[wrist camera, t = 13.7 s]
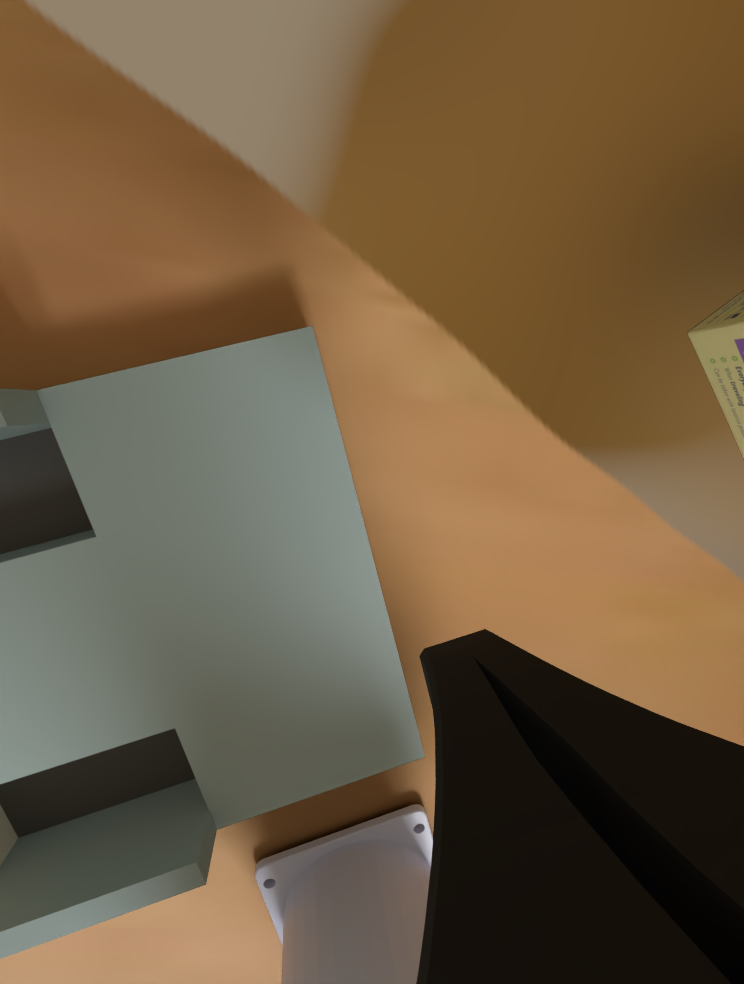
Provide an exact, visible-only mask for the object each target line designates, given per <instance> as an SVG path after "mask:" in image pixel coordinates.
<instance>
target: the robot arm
mask: <svg viewBox="0 0 744 984" xmlns="http://www.w3.org/2000/svg"><path fill="white" fill-rule="evenodd" d="M420 660H421V664H422V668H423V672H424V676H425V680H426V684H427V688H428V692H429V696H430V700H431V704H432V708H433V715H434V726H435V759H436V790H435V815H434V832H433V837H432V833H431V829H430V825H429V822H428V818H427V815H426V811H425V809H424V807H423V806H421V805H418V804H414V805H411V806H408V807H405V808H402V809H400V810H397V811H394V812H391V813H388V814H386V815H383V816H380V817H377V818H375V819H372V820H369V821H366V822H363V823H361V824H358V825H355V826H352V827H350V828H347V829H344V830H341V831H339V832H336V833H333V834H330V835H327V836H325V837H322V838H319V839H316V840H314V841H311V842H308V843H305V844H302V845H300V846H297V847H294V848H291V849H289V850H286V851H283V852H280V853H277V854H275V855H272V856H269V857H266V858H264V859H262V860H260V861H259V862H258V863H257V865H256V867H255V879H256V881H257V884H258V886H259V889H260V891H261V894H262V896H263V899H264V901H265V904H266V906H267V909H268V912H269V914H270V917H271V919H272V922H273V924H274V927H275V929H276V932H277V934H278V937H279V939H280V942H281V944H282V947H283V950H282V982H281V984H744V746H741V745H738V744H736V743H733V742H730V741H727V740H725V739H722V738H719V737H716V736H714V735H711V734H708V733H706V732H703V731H700V730H697V729H695V728H692V727H689V726H686V725H684V724H681V723H679V722H676V721H674V720H671V719H669V718H666V717H664V716H661V715H659V714H656V713H654V712H651V711H649V710H647V709H645V708H642V707H640V706H638V705H635V704H633V703H631V702H629V701H626V700H624V699H622V698H619V697H617V696H615V695H613V694H610V693H608V692H606V691H604V690H602V689H600V688H598V687H595V686H593V685H591V684H589V683H587V682H585V681H583V680H581V679H579V678H577V677H575V676H573V675H571V674H569V673H567V672H565V671H563V670H561V669H559V668H557V667H555V666H553V665H551V664H549V663H547V662H545V661H543V660H541V659H540V658H538V657H536V656H534V655H532V654H530V653H528V652H527V651H525V650H523V649H521V648H519V647H517V646H515V645H514V644H512V643H510V642H508V641H506V640H505V639H503V638H501V637H499V636H497V635H495V634H494V633H492V632H490V631H488V630H486V629H484V630H481V631H478V632H475V633H472V634H469V635H465V636H462V637H459V638H456V639H453V640H450V641H447V642H444V643H441V644H437V645H434V646H431V647H428V648H425V649H424V650H423V651H422V653H421V655H420ZM417 824H419V825H417Z"/></svg>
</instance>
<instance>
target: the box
mask: <svg viewBox="0 0 744 984" xmlns="http://www.w3.org/2000/svg"><path fill="white" fill-rule="evenodd" d="M687 333H688V336H689V339H690V341H691V343H692V345H693V347H694V350H695V352H696V353H697V356H698V358H699V359H700V362H701V364H702V366H703V368H704V371H705V373H706V375H707V378H708V380H709V382H710V384H711V387H712V389H713V391H714V393H715V395H716V398H717V400H718V402H719V404H720V407H721V409H722V411H723V413H724V415H725V418H726V420H727V422H728V425H729V427H730V429H731V431H732V434H733V436H734V438H735V441H736V443H737V445H738V447H739V450H740V452H741V454H742V457H743V459H744V290H743V291H742V292H741V293H739V294H738V295H737V296H735V297H734V298H733V299H731V300H730V301H728V302H727V303H726V304H724V305H723V306H722V307H720V308H719V309H718V310H716V311H715V312H713V313H712V314H711V315H710V316H708V317H707V318H706V319H704V320H703V321H701V322H700V323H699V324H697V325H696V326H695V327H693V328H692V329H691V330H689V331H688V332H687Z"/></svg>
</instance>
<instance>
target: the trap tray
mask: <svg viewBox="0 0 744 984" xmlns="http://www.w3.org/2000/svg"><path fill="white" fill-rule="evenodd" d="M424 757H425V755H424V751H423V747H422V743H421V739H420V736H419V732H418V728H417V724H416V720H415V716H414V713H413V709H412V705H411V701H410V697H409V693H408V690H407V686H406V682H405V678H404V674H403V670H402V667H401V663H400V659H399V655H398V651H397V648H396V644H395V640H394V636H393V632H392V628H391V625H390V621H389V617H388V613H387V609H386V605H385V602H384V598H383V594H382V590H381V586H380V582H379V579H378V575H377V571H376V567H375V563H374V559H373V556H372V552H371V548H370V544H369V540H368V536H367V533H366V529H365V525H364V521H363V517H362V514H361V510H360V506H359V502H358V498H357V494H356V491H355V487H354V483H353V479H352V475H351V471H350V468H349V464H348V460H347V456H346V452H345V448H344V445H343V441H342V437H341V433H340V429H339V425H338V422H337V418H336V414H335V410H334V406H333V402H332V399H331V395H330V391H329V387H328V383H327V379H326V376H325V372H324V368H323V364H322V360H321V357H320V353H319V349H318V345H317V341H316V337H315V334H314V330H313V326H310V327H305V328H301V329H297V330H292V331H288V332H284V333H280V334H275V335H271V336H267V337H262V338H258V339H254V340H250V341H245V342H241V343H237V344H233V345H228V346H224V347H220V348H215V349H211V350H207V351H203V352H198V353H194V354H190V355H185V356H181V357H177V358H173V359H168V360H164V361H160V362H155V363H151V364H147V365H143V366H138V367H134V368H130V369H125V370H121V371H117V372H113V373H108V374H104V375H100V376H95V377H91V378H87V379H83V380H78V381H74V382H70V383H65V384H61V385H57V386H53V387H48V388H44V389H40V390H22V389H6V388H0V959H1V958H4V957H7V956H10V955H12V954H15V953H18V952H21V951H23V950H26V949H29V948H32V947H34V946H37V945H40V944H43V943H45V942H48V941H51V940H54V939H57V938H59V937H62V936H65V935H68V934H70V933H73V932H76V931H79V930H81V929H84V928H87V927H90V926H92V925H95V924H98V923H101V922H104V921H106V920H109V919H112V918H115V917H117V916H120V915H123V914H126V913H128V912H131V911H134V910H137V909H139V908H142V907H145V906H148V905H151V904H153V903H156V902H159V901H162V900H164V899H167V898H170V897H173V896H175V895H178V894H181V893H184V892H186V891H189V890H192V889H195V888H198V887H200V886H203V885H206V882H207V877H208V872H209V867H210V861H211V856H212V851H213V846H214V841H215V836H216V831H217V830H218V829H220V828H223V827H226V826H229V825H232V824H235V823H238V822H240V821H243V820H246V819H249V818H252V817H255V816H258V815H260V814H263V813H266V812H269V811H272V810H275V809H278V808H280V807H283V806H286V805H289V804H292V803H295V802H298V801H301V800H303V799H306V798H309V797H312V796H315V795H318V794H321V793H323V792H326V791H329V790H332V789H335V788H338V787H341V786H343V785H346V784H349V783H352V782H355V781H358V780H361V779H363V778H366V777H369V776H372V775H375V774H378V773H381V772H383V771H386V770H389V769H392V768H395V767H398V766H401V765H404V764H406V763H409V762H412V761H415V760H418V759H421V758H424Z"/></svg>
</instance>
